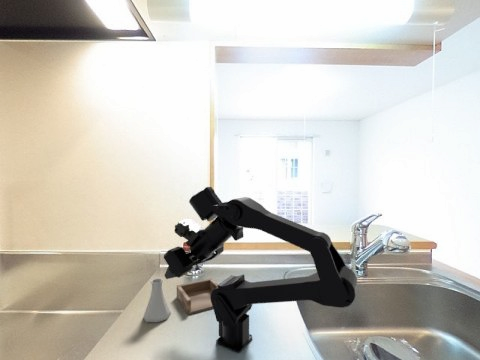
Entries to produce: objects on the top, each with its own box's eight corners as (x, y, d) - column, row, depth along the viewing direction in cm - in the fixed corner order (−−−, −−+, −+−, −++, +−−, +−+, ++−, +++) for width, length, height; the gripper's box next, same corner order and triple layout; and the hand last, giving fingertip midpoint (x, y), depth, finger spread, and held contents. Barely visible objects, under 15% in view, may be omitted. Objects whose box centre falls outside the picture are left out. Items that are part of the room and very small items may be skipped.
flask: (142, 325, 68) (141, 287, 67) (144, 311, 75) (144, 276, 74) (170, 321, 70) (170, 284, 69) (170, 307, 77) (170, 274, 76)
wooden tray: (227, 304, 78) (227, 292, 78) (188, 314, 73) (188, 302, 72) (211, 288, 89) (211, 278, 89) (176, 296, 83) (176, 285, 83)
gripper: (215, 205, 74) (183, 238, 79) (171, 215, 57) (134, 256, 62) (239, 236, 71) (204, 268, 76) (200, 257, 54) (158, 296, 59)
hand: (177, 270), depth 69 cm, fingers open, 9 cm apart
